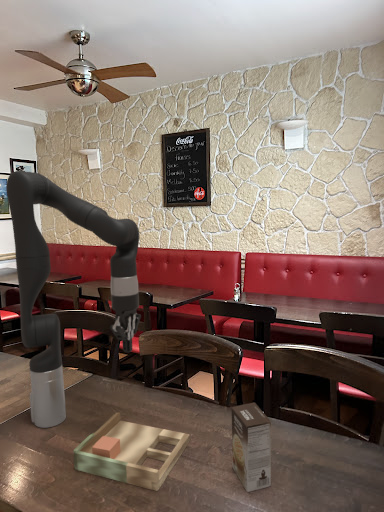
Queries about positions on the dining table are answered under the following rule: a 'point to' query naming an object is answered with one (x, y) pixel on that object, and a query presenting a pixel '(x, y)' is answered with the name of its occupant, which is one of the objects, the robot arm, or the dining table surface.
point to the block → (107, 447)
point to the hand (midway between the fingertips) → (127, 351)
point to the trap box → (131, 453)
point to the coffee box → (251, 446)
